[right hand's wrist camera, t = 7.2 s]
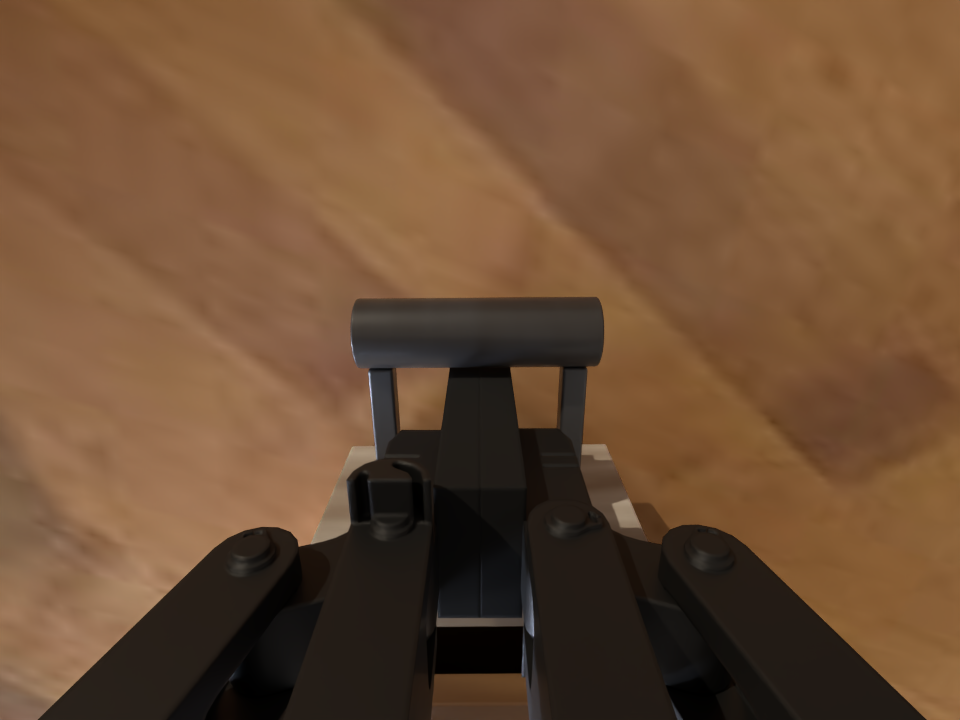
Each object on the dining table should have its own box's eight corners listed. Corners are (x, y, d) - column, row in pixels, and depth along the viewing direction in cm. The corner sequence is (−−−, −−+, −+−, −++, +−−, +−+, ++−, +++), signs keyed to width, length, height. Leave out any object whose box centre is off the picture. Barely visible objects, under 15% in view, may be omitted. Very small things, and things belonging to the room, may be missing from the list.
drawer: (332, 269, 16) (245, 340, 10) (621, 267, 16) (708, 336, 10) (391, 804, 25) (364, 1006, 19) (573, 802, 25) (602, 1004, 19)
